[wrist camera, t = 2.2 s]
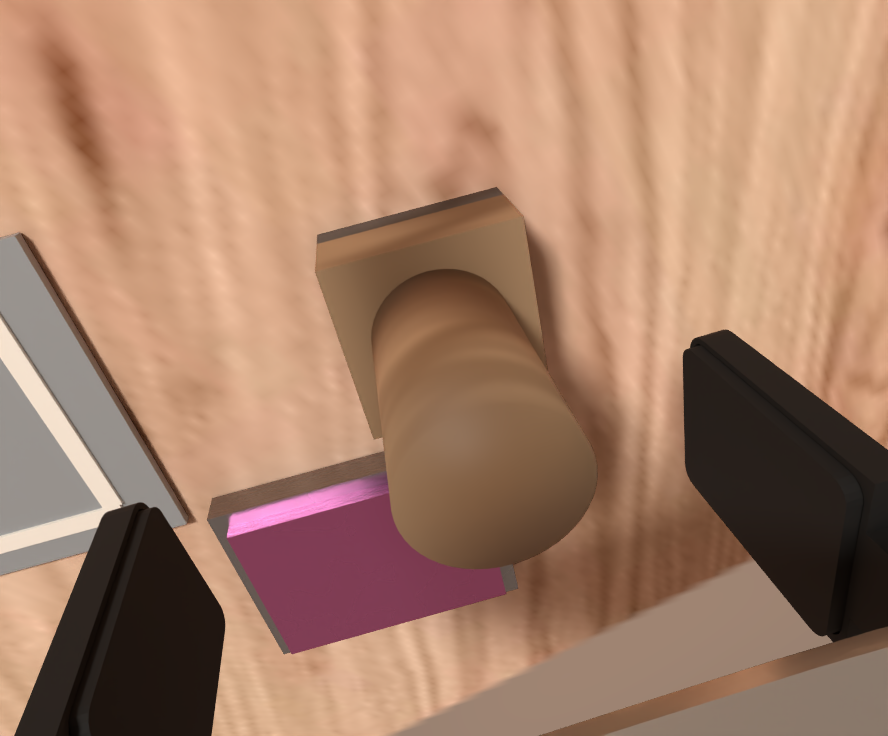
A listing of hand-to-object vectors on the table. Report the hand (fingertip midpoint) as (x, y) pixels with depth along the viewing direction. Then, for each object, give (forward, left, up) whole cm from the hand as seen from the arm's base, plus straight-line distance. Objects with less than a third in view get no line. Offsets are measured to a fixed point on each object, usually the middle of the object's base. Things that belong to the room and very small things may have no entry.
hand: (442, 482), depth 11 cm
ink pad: (+3, +9, -8) cm, 12 cm away
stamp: (-1, 0, -8) cm, 8 cm away
